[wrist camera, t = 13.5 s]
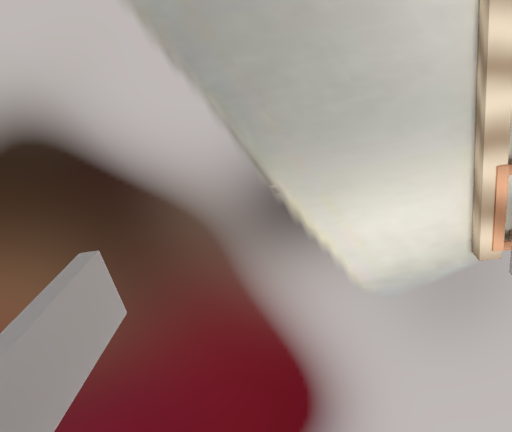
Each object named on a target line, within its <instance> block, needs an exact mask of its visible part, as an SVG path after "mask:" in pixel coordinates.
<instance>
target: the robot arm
mask: <svg viewBox="0 0 512 432" xmlns="http://www.w3.org/2000/svg"><path fill="white" fill-rule="evenodd" d="M509 272H510V274H511V275H512V246H511V259H510V271H509ZM126 313H127V312H126V309H125V307H124V305H123V303H122V300H121V298H120V296H119V294H118V292H117V289H116V287H115V285H114V283H113V281H112V279H111V276H110V274H109V272H108V270H107V268H106V265H105V263H104V261H103V259H102V257H101V254H100V252H99V251H94V252H86V253H79V255H77V256H76V257H75V258H74V259H73V260H72V262H71V263H69V264H68V266H67V267H66V268H65V269H64V270H63V271H62V272H61V273H60V274H59V275H58V276H57V277H56V278H55V279H54V280H53V281H52V282H51V283H50V284H49V285H48V286H47V287H46V288H45V289H44V290H43V291H42V292H41V293H40V294H39V295H38V296H37V297H36V298H35V299H34V300H33V301H32V302H31V303H30V304H29V305H28V306H27V307H26V308H25V309H24V310H23V311H22V312H21V313H20V314H19V315H18V316H17V317H16V318H15V319H14V320H13V322H11V323H10V324H9V326H7V328H6V329H5V330H4V331H3V332H2V333H1V334H0V432H54V431H55V429H56V428H57V426H58V424H59V423H60V421H61V419H62V418H63V416H64V414H65V413H66V411H67V410H68V408H69V406H70V405H71V403H72V402H73V400H74V398H75V397H76V395H77V393H78V391H79V390H80V388H81V387H82V385H83V384H84V382H85V380H86V378H87V377H88V375H89V374H90V372H91V370H92V369H93V367H94V365H95V364H96V362H97V361H98V359H99V357H100V356H101V354H102V353H103V351H104V349H105V348H106V346H107V344H108V343H109V341H110V340H111V338H112V336H113V335H114V333H115V331H116V330H117V328H118V326H119V325H120V323H121V322H122V320H123V318H124V317H125V315H126Z"/></svg>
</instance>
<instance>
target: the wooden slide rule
mask: <svg viewBox="0 0 512 432" xmlns="http://www.w3.org/2000/svg"><path fill="white" fill-rule="evenodd" d="M511 113H512V0H480V2H479V35H478V68H477V102H476V135H475V168H474V201H473V235H472V252H473V253H474V255H475V256H476V257H477V259H478V260H479V261H484V260H493V259H501V257H502V251H504V250H511V246H512V230H510V237H509V240H507V241H504V236H505V222H506V208H507V194H508V179H509V175H512V164H508V157H509V142H510V128H511Z"/></svg>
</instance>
